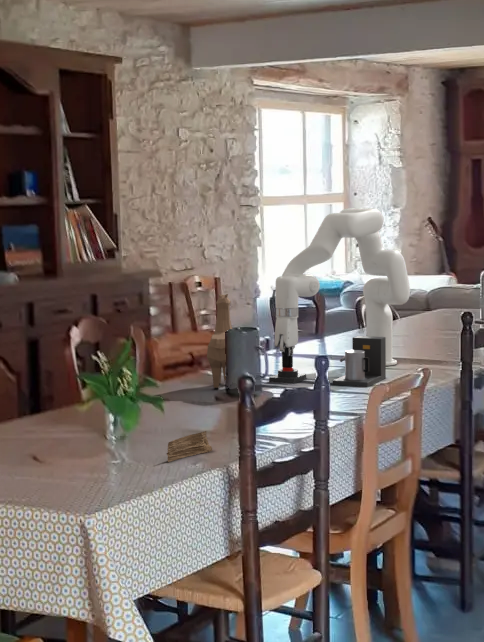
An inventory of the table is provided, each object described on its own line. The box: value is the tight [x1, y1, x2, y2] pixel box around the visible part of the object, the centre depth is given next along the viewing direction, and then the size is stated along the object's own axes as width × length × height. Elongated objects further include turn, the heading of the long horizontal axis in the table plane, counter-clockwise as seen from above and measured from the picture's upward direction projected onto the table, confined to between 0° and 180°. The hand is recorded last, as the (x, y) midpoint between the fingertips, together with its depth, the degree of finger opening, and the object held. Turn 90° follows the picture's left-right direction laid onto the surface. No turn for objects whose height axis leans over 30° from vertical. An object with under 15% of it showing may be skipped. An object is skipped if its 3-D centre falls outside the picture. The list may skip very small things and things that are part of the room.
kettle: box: [339, 349, 369, 380], centre depth 385 cm, size 6×10×9 cm, turn 63°
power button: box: [281, 366, 294, 371], centre depth 393 cm, size 4×4×2 cm
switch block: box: [268, 368, 307, 385], centre depth 394 cm, size 11×9×4 cm
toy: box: [206, 293, 233, 391], centre depth 382 cm, size 9×20×30 cm, turn 174°
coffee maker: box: [332, 335, 387, 388], centre depth 389 cm, size 19×12×14 cm, turn 153°
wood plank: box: [166, 430, 213, 463], centre depth 284 cm, size 15×2×5 cm, turn 141°
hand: (287, 367), depth 393 cm, fingers closed
